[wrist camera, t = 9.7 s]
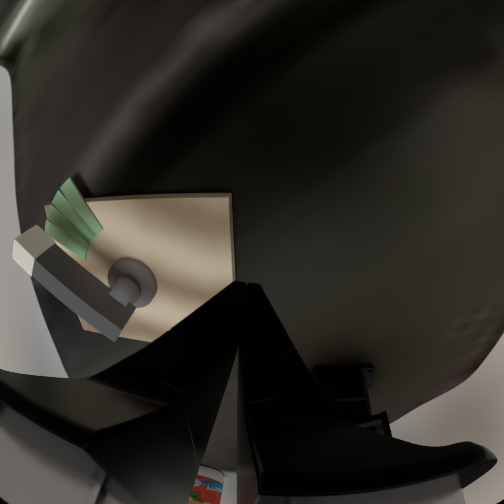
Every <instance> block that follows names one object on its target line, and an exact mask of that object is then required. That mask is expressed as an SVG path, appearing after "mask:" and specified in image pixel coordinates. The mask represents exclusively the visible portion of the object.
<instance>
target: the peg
mask: <svg viewBox="0 0 504 504" xmlns="http://www.w3.org/2000/svg"><path fill="white" fill-rule="evenodd" d="M12 258H13V259H14V260H15V261H16V262H17V263H18V264H19V265H20V266H21V267H22V268H23V269H24V270H25V271H26V272H27V273H28V274H29V275H30V276H33V277H34V278H35V279H36V280H37V281H38V282H40V283H41V284H42V285H43V286H44V287H45V288H46V289H47V290H48V291H50V292H51V293H52V294H53V295H54V296H55V297H57V298H58V299H59V300H60V301H61V302H62V303H64V304H65V305H66V306H67V307H68V308H70V309H71V310H72V311H73V312H75V313H76V314H77V315H78V316H80V317H81V318H82V319H83V320H85V321H86V322H87V323H89V324H90V325H91V326H93V327H94V328H95V329H97V330H98V331H99V332H101V333H102V334H103V335H105V336H106V337H108V338H109V339H110V340H112V341H113V342H115V341H116V339H117V338H118V336H119V335H120V333H121V332H122V330H123V329H124V327H125V325H126V324H127V322H128V321H129V319H130V318H131V316H132V314H133V313H134V311H135V309H136V308H137V307H135V306H134V304H135V303H136V302H137V300H138V299H139V296H140V292H139V289H138V287H137V285H136V284H135V283H134V282H133V281H132V280H130V279H128V278H125V277H120V278H117V279H116V280H115V281H114V283H113V284H112V285H111V286H110V287H108V286H107V285H105V284H104V283H103V282H102V281H100V280H99V279H98V278H96V277H95V276H94V275H93V274H91V273H90V272H89V271H88V270H86V269H85V268H84V267H83V266H81V265H80V264H79V263H78V262H77V261H75V260H74V259H73V258H72V257H71V256H69V255H68V254H67V253H66V252H65V251H64V250H62V249H61V248H60V247H59V246H58V245H57V244H56V242H55V241H54V240H53V239H52V238H51V237H50V236H49V235H47V234H46V233H45V232H44V231H43V230H42V229H41V228H40V227H39V226H38V225H35V226H34V227H32V228H31V229H29V230H27V231H26V232H24V233H23V234H21V235H20V236H19V237H17V238H15V239H14V247H13V256H12Z"/></svg>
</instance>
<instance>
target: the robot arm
mask: <svg viewBox="0 0 504 504" xmlns="http://www.w3.org/2000/svg"><path fill="white" fill-rule="evenodd" d="M238 346H239V348H238ZM237 350H238V397H237V504H465V500H464V495H463V490H462V489H463V488H464V487H466V486H468V485H469V484H471V483H472V482H474V481H475V480H477V479H478V478H480V477H481V476H482V475H484V474H485V473H486V472H488V471H489V470H490V469H491V468H492V467H493V466H494V465H495V464H496V463H497V460H498V459H497V458H496V456H495V455H494V454H493V453H492V452H491V451H490V450H489V449H487V448H486V447H484V446H481V445H478V444H475V443H472V442H469V441H468V442H460V443H455V444H451V445H447V446H441V447H431V446H422V445H417V444H413V443H410V442H406V441H403V440H400V439H396V438H393V437H392V434H391V430H390V426H389V421H388V417H387V413H386V411H383V412H380V414H376V415H373V416H372V412H371V406H370V401H369V396H368V391H367V389H368V386H369V384H370V382H371V379H372V377H373V374H374V372H375V367H374V366H373V365H361V366H318V367H315V368H313V372H312V373H311V372H310V371H309V369H308V368H307V366H306V365H305V363H304V361H303V360H302V358H301V357H300V355H299V353H298V351H297V349H296V348H295V346H294V344H293V343H292V341H291V339H290V337H289V335H288V334H287V332H286V330H285V328H284V327H283V325H282V323H281V321H280V319H279V318H278V316H277V314H276V312H275V310H274V309H273V307H272V305H271V303H270V301H269V300H268V298H267V296H266V294H265V292H264V291H263V289H262V287H261V285H260V284H256V283H247V284H246V283H245V282H239V281H233V282H231V283H230V284H229V285H227V286H226V287H225V288H224V289H222V290H221V291H220V292H218V293H217V294H216V295H214V296H213V297H212V298H210V299H209V300H208V301H206V302H205V303H204V304H202V305H201V306H200V307H198V308H197V309H196V310H194V311H193V312H192V313H190V314H189V315H188V316H187V317H185V318H184V319H183V320H181V321H180V322H179V323H177V324H176V325H175V326H173V327H172V328H171V329H170V331H169V330H168V331H166V332H165V333H164V334H162V335H161V336H160V337H158V338H157V339H155V340H154V341H152V342H151V343H150V344H148V345H147V346H145V347H143V348H142V349H140V350H138V351H137V352H135V353H133V354H132V355H130V356H128V357H126V358H125V359H123V360H121V361H119V362H118V363H116V364H114V365H112V366H111V367H109V368H107V369H105V370H103V371H102V372H100V373H98V374H96V375H93V376H90V377H87V378H80V379H71V378H57V377H44V376H35V375H27V374H19V373H14V372H9V371H5V370H1V369H0V504H187V503H188V500H189V497H190V494H191V492H192V489H193V486H194V483H195V480H196V477H197V474H198V471H199V468H200V465H201V462H202V459H203V456H204V453H205V450H206V447H207V444H208V441H209V438H210V435H211V432H212V429H213V426H214V423H215V420H216V416H217V413H218V410H219V407H220V404H221V401H222V398H223V395H224V392H225V389H226V386H227V382H228V379H229V376H230V373H231V370H232V367H233V364H234V360H235V357H236V354H237ZM497 504H504V500H502V501H501V502H499V503H497Z"/></svg>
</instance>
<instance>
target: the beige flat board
mask: <svg viewBox="0 0 504 504" xmlns="http://www.w3.org/2000/svg"><path fill="white" fill-rule="evenodd" d="M60 189H61V190H62V191H61V190H58V192H57V194H56V195H55V197H54V199H53V201H52V202H50V203H48V204H46V205H45V210H46V215H47V219H46V225H45V233H46V234H47V235H49V236H50V237H51V238H52V239H53V240H54V241H55V242H56V244H57V245H58V246H59V247H60V248H61V249H62V250H64V251H65V252H66V253H67V254H68V255H69V256H71V257H72V258H73V259H74V260H75V261H77V262H78V263H79V264H80V265H81V266H83V267H84V268H85V269H86V270H88V271H89V272H90V273H91V274H93V275H94V276H95V277H96V278H98V279H99V280H100V281H102V282H103V283H104V284H105V285H107V286H108V287H110V286H111V285H112V284H113V283H114V281H115V280H116V279H117V278H120V277H125V278H128V279H130V280H132V281H133V282H134V283H135V284H136V285H137V287H138V289H139V292H140V296H139V299H138V300H137V302H136V303H135V304H134V306H135V307H137V308H136V309H135V311H134V313H133V314H132V316H131V318H130V319H129V321H128V322H127V324H126V325H125V327H124V329H123V330H122V332H121V333H120V335H119V337H124V338H130V339H136V340H142V341H148V342H152V341H154V340H155V339H157V338H158V337H160V336H161V335H162V334H164V333H165V332H166V331H168V330H169V331H170V329H171V328H172V327H173V326H175V325H176V324H177V323H179V322H180V321H181V320H183V319H184V318H185V317H187V316H188V315H189V314H190V313H192V312H193V311H194V310H196V309H197V308H198V307H200V306H201V305H202V304H204V303H205V302H206V301H208V300H209V299H210V298H212V297H213V296H214V295H216V294H217V293H218V292H220V291H221V290H222V289H224V288H225V287H226V286H227V285H229V284H230V283H231V282H233V281H236V279H235V259H234V237H233V214H232V193H178V194H149V195H128V196H111V197H96V198H83V196H82V195H81V193H80V191H79V190H78V188H77V187H76V185H75V183H74V182H73V180H72V178H71V177H70V178H68V180H67V181H66V182H65V183H64V184H63V185H62V186H61V187H60ZM62 192H63V193H62ZM78 317H79V319H80V322H81V324H82V326H83V329H84V330H88V331H93V332H98V333H101V332H99V331H98V330H97V329H95V328H94V327H93V326H91V325H90V324H89V323H87V322H86V321H85V320H83V319H82V318H81V317H80V316H78Z"/></svg>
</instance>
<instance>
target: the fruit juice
mask: <svg viewBox="0 0 504 504" xmlns="http://www.w3.org/2000/svg"><path fill="white" fill-rule="evenodd" d="M223 482H224V475H223V474H222V473H221V472H219V471H217V470H215V469H212V468H209V467H206V466H201V465H200V468H199V471H198V474H197V477H196V480H195V483H194V486H193V489H192V492H191V494H190V497H189V500H188V503H187V504H220V499H221V493H222V488H223Z"/></svg>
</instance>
